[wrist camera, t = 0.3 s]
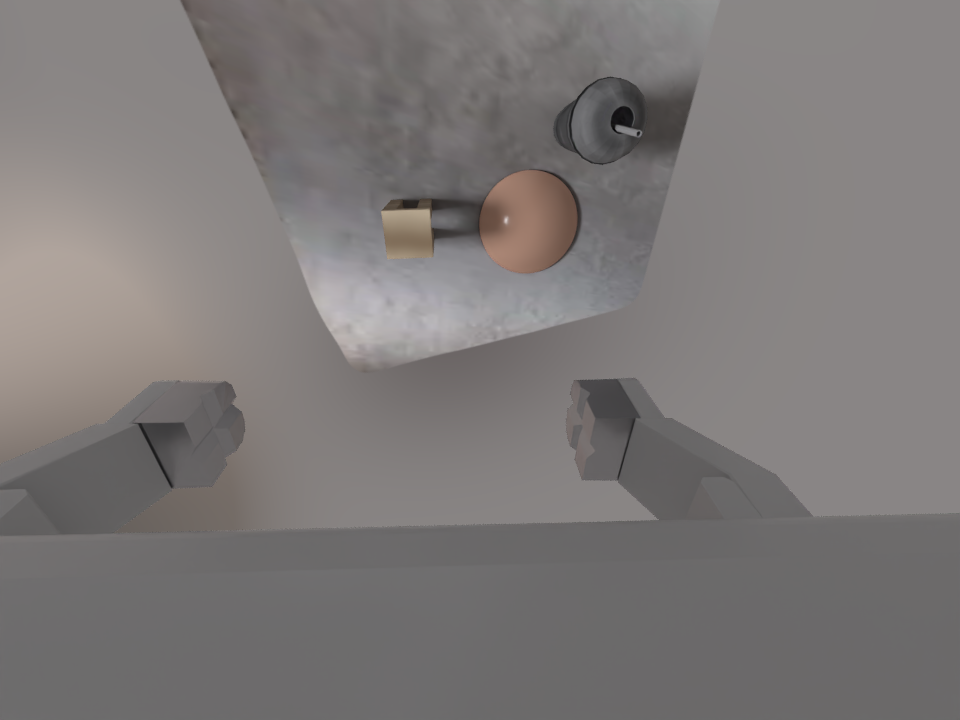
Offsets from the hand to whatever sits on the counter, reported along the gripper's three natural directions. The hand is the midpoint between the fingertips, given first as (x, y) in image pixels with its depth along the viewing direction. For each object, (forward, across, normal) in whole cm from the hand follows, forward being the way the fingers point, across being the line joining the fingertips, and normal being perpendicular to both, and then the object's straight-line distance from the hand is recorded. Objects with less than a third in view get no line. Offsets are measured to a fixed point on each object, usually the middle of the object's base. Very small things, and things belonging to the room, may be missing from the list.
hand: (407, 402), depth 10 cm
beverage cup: (+48, -15, -5) cm, 51 cm away
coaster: (+47, -10, +6) cm, 49 cm away
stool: (+47, +5, +5) cm, 47 cm away
